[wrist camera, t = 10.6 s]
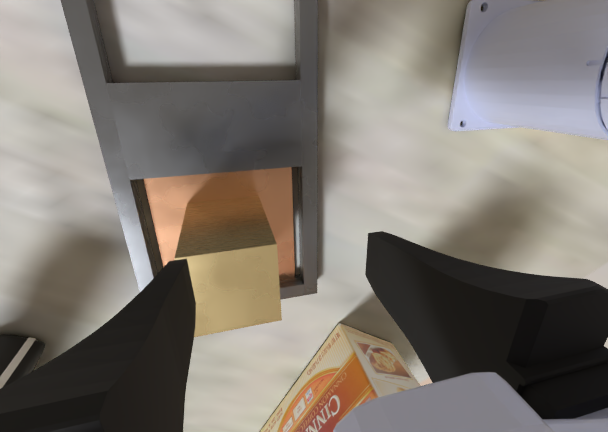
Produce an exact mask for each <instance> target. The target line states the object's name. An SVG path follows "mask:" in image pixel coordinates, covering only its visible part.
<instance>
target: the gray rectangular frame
mask: <svg viewBox="0 0 608 432" xmlns="http://www.w3.org/2000/svg"><path fill="white" fill-rule="evenodd" d="M61 3H62V7H63V11H64V14H65V18H66V22H67V25H68V29H69V33H70V36H71V40H72V44H73V47H74V51H75V55H76V59H77V62H78V66H79V70H80V73H81V77H82V81H83V84H84V88H85V92H86V95H87V99H88V103H89V106H90V110H91V114H92V117H93V121H94V125H95V129H96V132H97V136H98V140H99V143H100V147H101V151H102V154H103V158H104V162H105V165H106V169H107V173H108V176H109V180H110V184H111V187H112V191H113V195H114V199H115V202H116V206H117V210H118V213H119V217H120V221H121V224H122V228H123V232H124V235H125V239H126V243H127V246H128V250H129V254H130V258H131V261H132V265H133V269H134V272H135V276H136V280H137V283H138V287H139V291H140V292H141V291H142V290H143V289H144V288H145V287H146V286H147V285H148V284H149V283H150V282H151V281H152V279H153V278H154V277H155V276H156V275H157V274H158V271H157V267H156V263H155V259H154V255H153V250H152V246H151V242H150V238H149V233H148V229H147V225H146V221H145V216H144V212H143V208H142V204H141V200H140V195H139V191H138V187H137V183H136V179H144V183H145V188H146V192H147V197H148V201H149V206H150V210H151V214H152V219H153V223H154V228H155V232H156V236H157V241H158V245H159V250H160V254H161V259H162V263H163V267H164V266H165V265H166V264H167V263H168V262H169V261H173V260H175V259H174V258H175V254H176V249H177V245H178V241H179V236H180V232H181V228H182V224H183V219H184V215H185V211H186V206H187V203H191V202H201V201H210V200H220V199H229V198H239V197H249V196H258V195H259V198H260V201H261V203H262V206H263V209H264V211H265V214H266V217H267V219H268V222H269V224H270V227H271V230H272V232H273V235H274V238H275V240H276V243H277V253H278V269H279V285H280V299H286V298H292V297H297V296H303V295H309V294H314V293H317V120H318V0H294V14H295V59H296V80H279V81H214V82H149V83H113V81H112V77H111V73H110V68H109V64H108V60H107V56H106V52H105V47H104V43H103V39H102V35H101V30H100V26H99V22H98V18H97V14H96V9H95V5H94V1H93V0H61ZM292 167H298V192H299V237H300V276H295V262H294V230H293V197H292Z"/></svg>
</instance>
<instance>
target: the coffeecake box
mask: <svg viewBox="0 0 608 432" xmlns="http://www.w3.org/2000/svg"><path fill="white" fill-rule="evenodd" d="M416 387H420V384H419V383H418V381H417V380H416V378H415V377H414V375H413V374H412V373H411V371H410V369H409V368H408V366H407V365H406V363H405V362H404V360H403V359H402V357H401V356H400V354H399V353H398V351H397V350H396V349H395V347H394V346H393V344H392V343H390V342H387V341H385V340H382V339H379V338H376V337H374V336H371V335H368V334H366V333H363V332H361V331H359V330H357V329H354V328H352V327H349V326H346V325H343V324H341V323H339V324H338V325H337V326H336V328H335V329H334V330H333V332H332V333H331V334H330V336H329V337H328V339H327V340H326V341H325V343H324V344H323V346H322V347H321V348H320V350H319V351H318V352H317V354H316V355H315V356H314V358H313V359H312V361H311V362H310V364H309V365H308V366H307V368H306V369H305V370H304V372H303V373H302V375H301V376H300V377H299V379H298V380H297V381H296V383H295V384H294V386H293V387H292V388H291V390H290V391H289V392H288V394H287V395H286V397H285V398H284V399H283V401H282V402H281V403H280V405H279V406H278V408H277V409H276V410H275V412H274V413H273V414H272V416H271V417H270V419H269V420H268V421H267V423H266V424H265V425H264V427H263V428H262V430H261V431H260V432H333V430H334V428H335V426H336V424H337V423H338V422H339V421H340V420H341V419H342V418H343V417H344V416H345V415H347V414H348V413H349V412H350V411H351V410H352V409H353V408H355V407H357V406H359V405H361V404H364V403H366V402H368V401H370V400H372V399H375V398H378V397H382V396H385V395H389V394H393V393H397V392H401V391H405V390H408V389H412V388H416Z"/></svg>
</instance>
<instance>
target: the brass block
mask: <svg viewBox="0 0 608 432" xmlns="http://www.w3.org/2000/svg"><path fill="white" fill-rule="evenodd" d="M174 259H175V260H180V259H187V262H188V267H189V272H190V277H191V282H192V287H193V291H194V296H195V301H196V322H195V333H194V337H198V336H203V335H208V334H213V333H218V332H223V331H228V330H233V329H238V328H244V327H249V326H254V325H259V324H264V323H269V322H274V321H279V320H282V318H281V302H280V285H279V269H278V253H277V243H276V240H275V238H274V235H273V232H272V230H271V227H270V224H269V222H268V219H267V217H266V214H265V211H264V209H263V206H262V203H261V201H260V198H259V195H258V196H249V197H239V198H229V199H220V200H210V201H201V202H191V203H187V206H186V211H185V215H184V219H183V224H182V228H181V232H180V236H179V241H178V245H177V249H176V254H175V258H174Z"/></svg>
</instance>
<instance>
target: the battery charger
mask: <svg viewBox="0 0 608 432" xmlns="http://www.w3.org/2000/svg"><path fill="white" fill-rule="evenodd" d="M44 347H45V344H44V343H43V342H41V341H37V340H36V339H35V338H30V337H29V338H24V337H19V336H11V335H0V389H1V388H3V387H5V386H7V385H9V384H11V383H13V382H15V381H17V380H18V379H20V378H22V377H24V376H26V375H28V374H29V373H31V372H33V370H34V368H35V366H36V364H37V362H38V360H39V358H40V356H41V354H42V352H43V350H44Z"/></svg>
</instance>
